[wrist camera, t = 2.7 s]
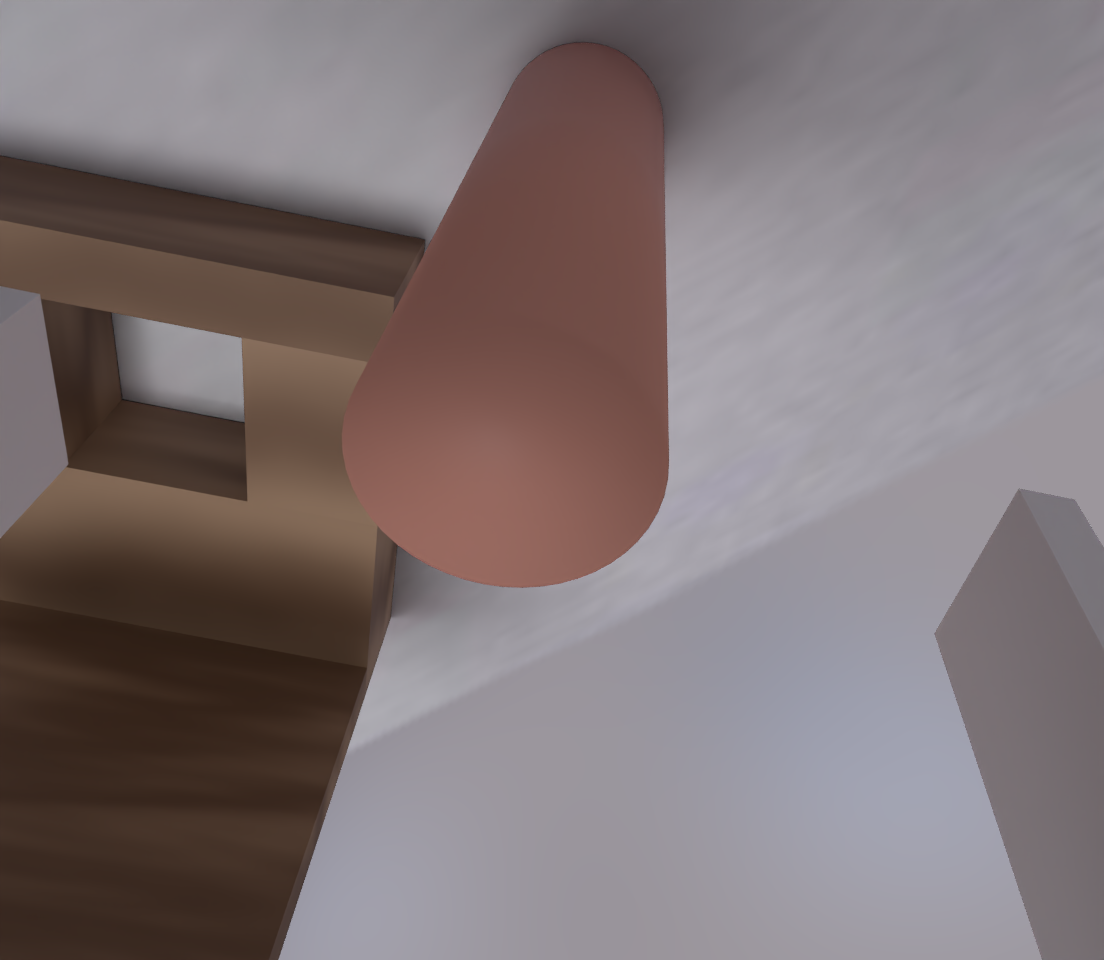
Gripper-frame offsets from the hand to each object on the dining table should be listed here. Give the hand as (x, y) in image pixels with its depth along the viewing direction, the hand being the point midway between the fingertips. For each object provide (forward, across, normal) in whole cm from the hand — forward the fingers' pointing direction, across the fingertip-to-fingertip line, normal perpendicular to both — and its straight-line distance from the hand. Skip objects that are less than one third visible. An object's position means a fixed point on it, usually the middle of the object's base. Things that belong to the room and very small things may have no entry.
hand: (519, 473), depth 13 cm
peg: (+16, 0, 0) cm, 16 cm away
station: (+16, -11, -12) cm, 23 cm away
